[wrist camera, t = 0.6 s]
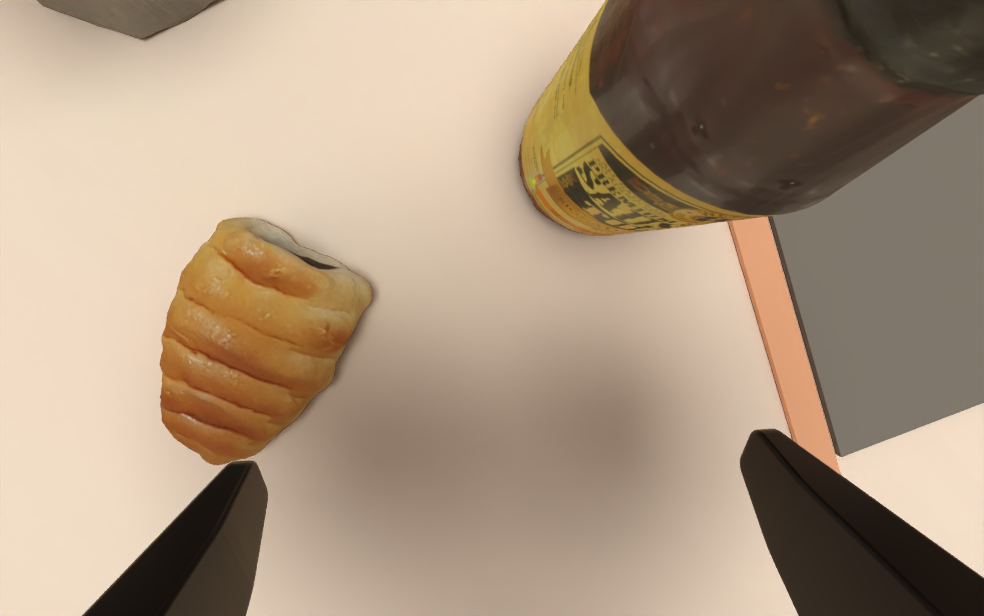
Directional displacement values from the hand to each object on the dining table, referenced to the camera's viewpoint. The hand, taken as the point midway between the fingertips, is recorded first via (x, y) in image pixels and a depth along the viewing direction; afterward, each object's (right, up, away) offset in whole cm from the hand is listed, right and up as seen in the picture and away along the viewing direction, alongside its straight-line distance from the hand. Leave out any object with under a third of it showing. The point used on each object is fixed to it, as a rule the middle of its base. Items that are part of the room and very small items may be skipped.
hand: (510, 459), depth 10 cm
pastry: (-9, +2, +12) cm, 16 cm away
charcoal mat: (+18, +6, +14) cm, 23 cm away
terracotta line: (+10, +7, +13) cm, 18 cm away
